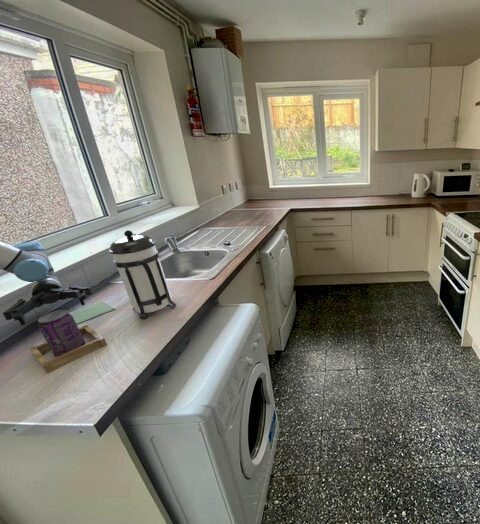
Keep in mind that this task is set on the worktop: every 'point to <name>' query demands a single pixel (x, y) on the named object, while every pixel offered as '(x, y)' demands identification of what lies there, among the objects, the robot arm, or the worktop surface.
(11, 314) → the robot arm
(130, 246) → the coffee press
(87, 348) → the shallow wooden tray
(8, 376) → the worktop surface
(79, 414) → the worktop surface
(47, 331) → the beverage can
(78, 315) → the mat
